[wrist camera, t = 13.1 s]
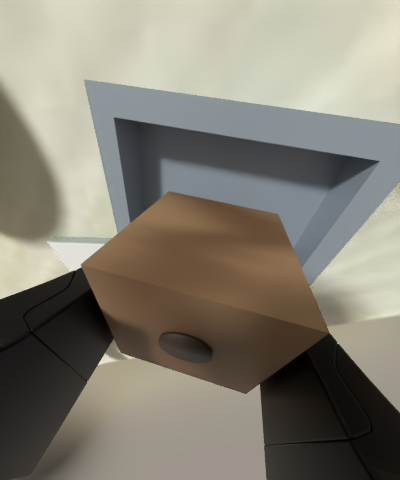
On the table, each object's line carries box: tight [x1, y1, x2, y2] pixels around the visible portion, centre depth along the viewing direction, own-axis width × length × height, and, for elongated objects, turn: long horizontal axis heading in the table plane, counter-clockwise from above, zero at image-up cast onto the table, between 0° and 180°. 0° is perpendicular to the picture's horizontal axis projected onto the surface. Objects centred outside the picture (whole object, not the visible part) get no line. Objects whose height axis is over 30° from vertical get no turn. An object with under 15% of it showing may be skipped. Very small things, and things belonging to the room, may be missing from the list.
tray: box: [84, 80, 400, 286], centre depth 10 cm, size 12×12×2 cm
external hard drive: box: [47, 237, 112, 272], centre depth 18 cm, size 2×8×12 cm
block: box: [80, 191, 329, 394], centre depth 6 cm, size 5×5×5 cm
